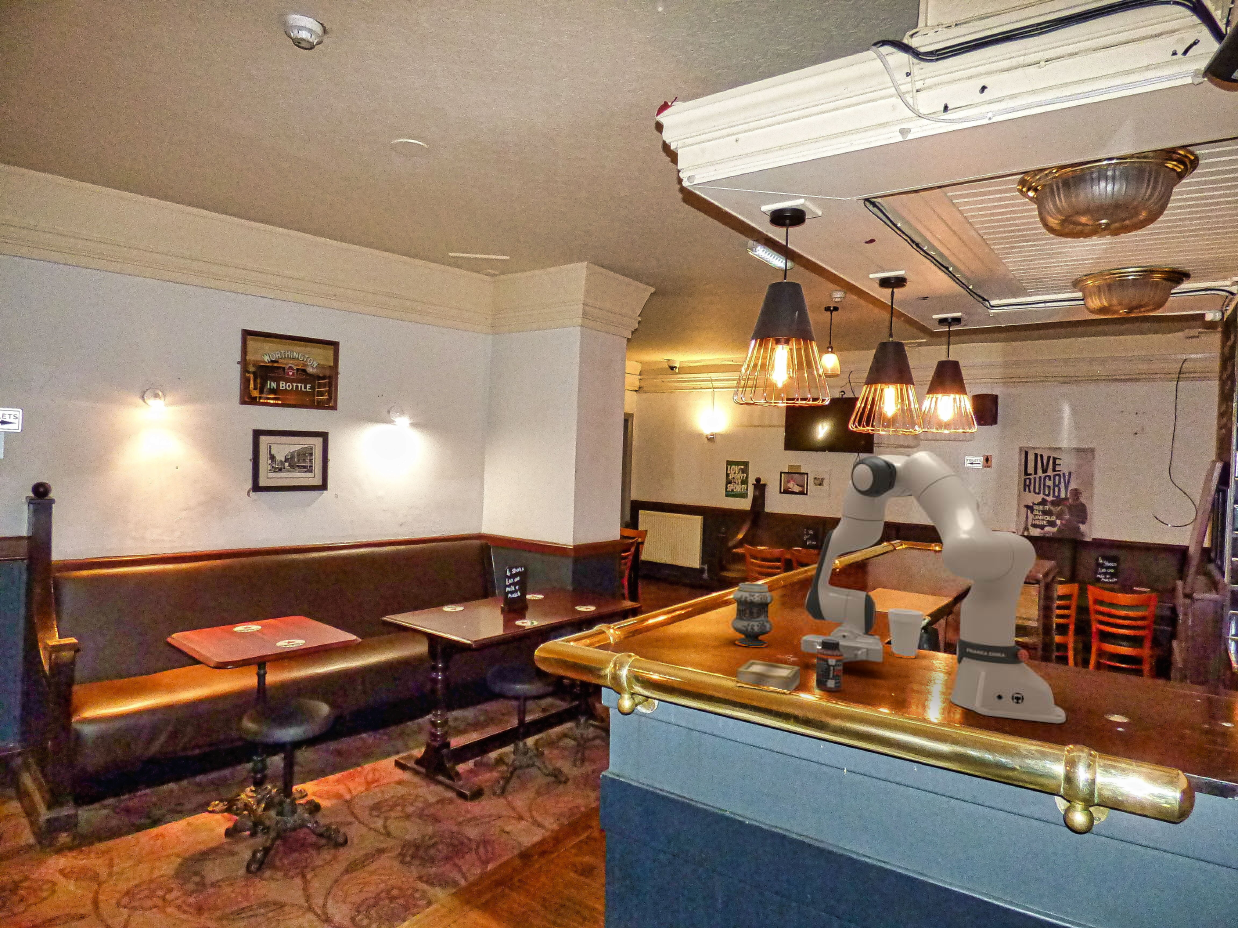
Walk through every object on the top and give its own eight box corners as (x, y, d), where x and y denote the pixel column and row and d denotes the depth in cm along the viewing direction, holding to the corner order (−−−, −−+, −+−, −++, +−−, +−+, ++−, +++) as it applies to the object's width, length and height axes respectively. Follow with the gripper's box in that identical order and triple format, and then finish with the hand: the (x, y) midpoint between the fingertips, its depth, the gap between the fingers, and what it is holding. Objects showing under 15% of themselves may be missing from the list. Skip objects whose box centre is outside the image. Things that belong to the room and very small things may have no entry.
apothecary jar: (758, 639, 227) (761, 581, 227) (779, 648, 215) (781, 587, 216) (723, 640, 223) (726, 581, 224) (742, 649, 211) (745, 586, 212)
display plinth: (799, 682, 175) (800, 666, 175) (788, 694, 164) (789, 677, 165) (750, 675, 180) (751, 659, 181) (736, 685, 170) (737, 669, 170)
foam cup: (924, 661, 207) (925, 615, 208) (890, 658, 209) (891, 612, 210) (917, 654, 217) (919, 610, 217) (884, 651, 218) (886, 607, 219)
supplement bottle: (837, 693, 167) (839, 643, 168) (812, 688, 170) (814, 640, 171) (844, 688, 172) (846, 640, 173) (819, 683, 176) (821, 636, 176)
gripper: (806, 627, 200) (796, 634, 187) (885, 636, 191) (880, 645, 178) (805, 650, 199) (795, 659, 187) (884, 661, 191) (879, 671, 178)
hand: (837, 653), depth 183 cm, fingers open, 8 cm apart
